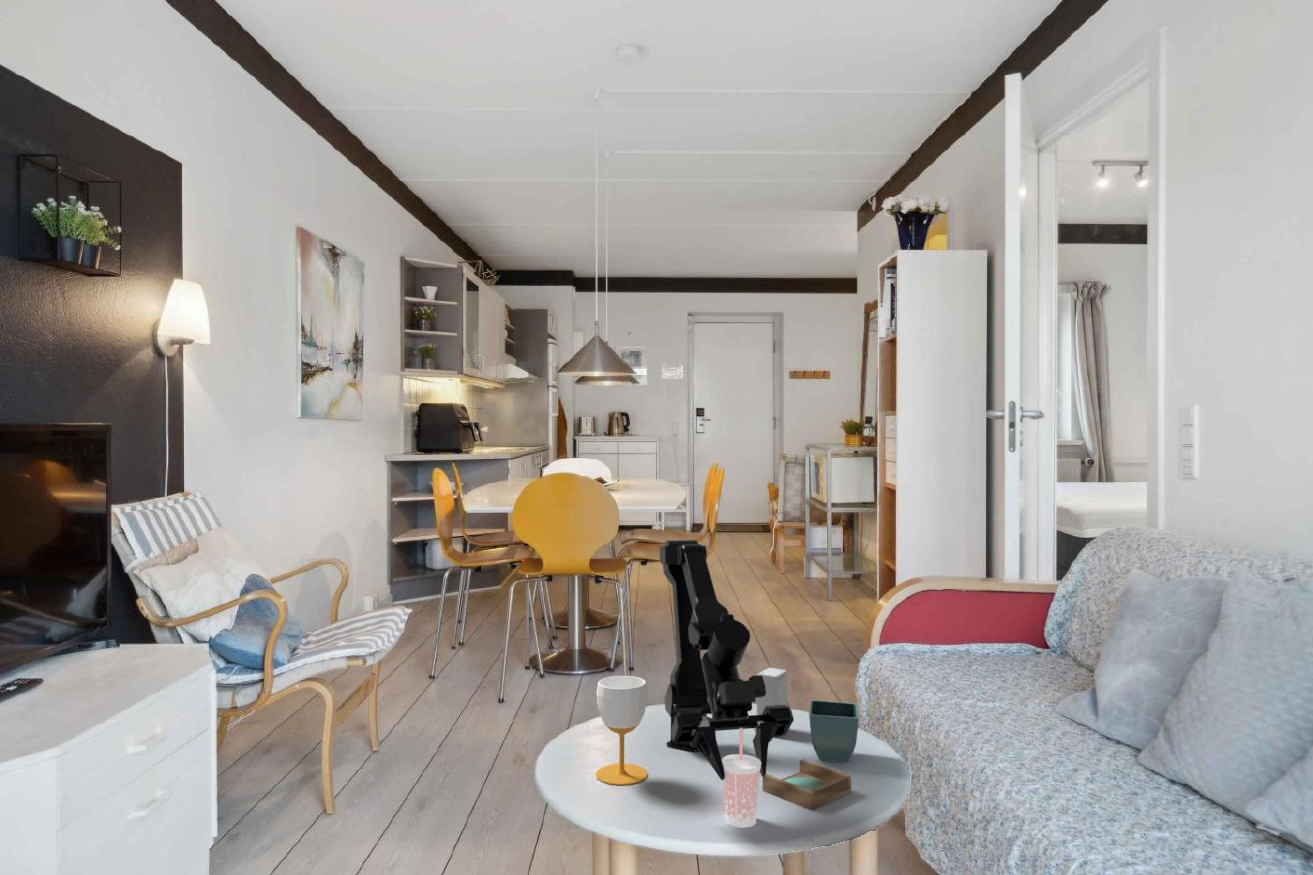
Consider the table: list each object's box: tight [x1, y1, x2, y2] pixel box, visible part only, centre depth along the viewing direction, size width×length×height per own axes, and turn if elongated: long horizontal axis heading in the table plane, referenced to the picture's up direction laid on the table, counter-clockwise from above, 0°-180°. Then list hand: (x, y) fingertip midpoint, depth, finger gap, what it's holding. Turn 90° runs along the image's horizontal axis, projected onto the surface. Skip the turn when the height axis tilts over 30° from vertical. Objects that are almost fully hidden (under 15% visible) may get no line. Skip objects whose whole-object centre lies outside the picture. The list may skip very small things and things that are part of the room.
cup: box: [595, 675, 649, 786], centre depth 141 cm, size 9×9×16 cm
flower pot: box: [808, 699, 860, 763], centre depth 150 cm, size 9×9×9 cm
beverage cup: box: [721, 728, 761, 829], centre depth 124 cm, size 6×6×14 cm
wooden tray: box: [762, 758, 852, 811], centre depth 135 cm, size 10×11×3 cm
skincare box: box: [756, 667, 788, 715], centre depth 163 cm, size 6×4×12 cm
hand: (743, 777), depth 122 cm, fingers closed on beverage cup, 6 cm apart
